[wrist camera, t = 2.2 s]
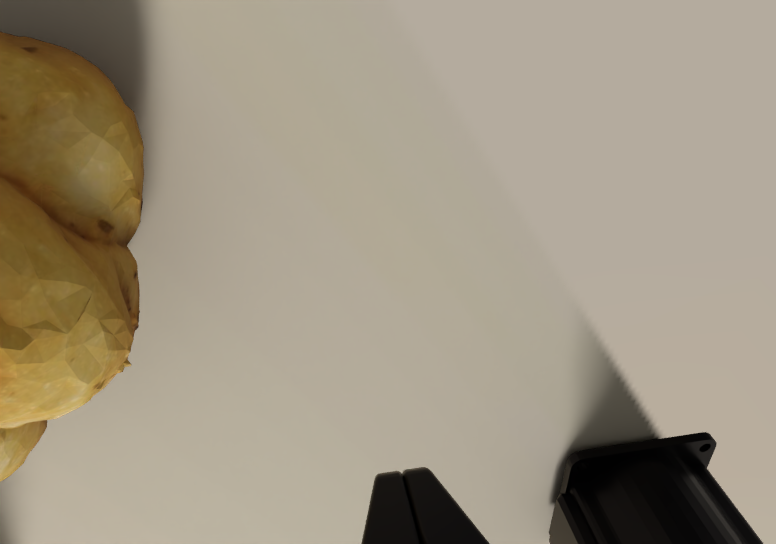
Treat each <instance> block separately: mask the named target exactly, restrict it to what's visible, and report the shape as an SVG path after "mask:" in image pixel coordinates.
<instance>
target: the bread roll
mask: <svg viewBox="0 0 776 544" xmlns="http://www.w3.org/2000/svg"><path fill="white" fill-rule="evenodd" d="M143 148H144V147H143V142H142V138H141V135H140V132H139V128H138V125H137V122H136V118H135V115H134V112H133V111H132V110H131V109H130V108H129V107H127V106H126V105H125V104H124V102H123V100H122V98H121V96H120V95H119V93H118V91H117V89H116V88H115V86H114V85H113V83H112V82H111V80H110V79H109V78H108V77H107V76H106V75H105V74H104V73H103V72H102V71H101V70H100V69H99V68H98V67H96V66H95V65H93V64H92V63H90V62H89V61H87V60H86V59H84V58H83V57H81V56H79V55H78V54H76V53H74V52H72V51H70V50H69V49H66V48H63V47H60V46H57V45H54V44H50V43H47V42H43V41H40V40H36V39H33V38H29V37H26V36H23V37H18V36H14V35H11V34H7V33H3V32H0V481H2V480H4V479H5V478H7V477H9V476H10V475H11V474H12V473H13V472H14V471H16V470H17V469H18V468H19V467H20V466H21V465H22V464H23V463H24V461H25V459H26V457H27V455H28V454H29V452H30V451H31V450H32V449H33V448H34V446H35V445H36V444H37V442H38V441H39V440H40V438H41V436H42V435H43V433H44V431H45V429H46V427H47V420H50V419H57V418H59V417H61V416H63V415H65V414H67V413H69V412H71V411H73V410H75V409H77V408H79V407H80V406H82V405H84V404H85V403H87V402H88V401H89V400H90V399H91V398H92V396H94V395H95V394H96V393H98V392H99V391H101V390H102V389H103V388H105V387H106V385H107V384H108V383H109V382H110V381H111V380H112V379H113V377H114V376H115V375H116V374H117V373H120V372H123V369H124V367H127V366H131V364H130V362H129V361H128V360H127V358H128V355H129V353H130V350H131V345H132V342H133V336H134V331H135V330H136V329H137V328H138V321H139V312H140V311H139V282H138V273H137V263H136V260H135V259H134V257H133V255H132V254H131V252H130V250H129V249H128V247H127V245H128V243H129V242H130V240H131V239H132V237H133V235H134V234H135V232H136V230H137V228H138V226H139V223H140V217H141V210H142V203H143V201H142V190H143V177H144V168H143Z"/></svg>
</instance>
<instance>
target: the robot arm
mask: <svg viewBox="0 0 776 544" xmlns="http://www.w3.org/2000/svg"><path fill="white" fill-rule="evenodd" d="M715 447H716V442H715V440H714V439H713V438H712V437H711V435H710V434H709V433H706V432H705V433H696V434H689V435H683V436H677V437H670V438H663V439H656V440H650V441H643V442H636V443H630V444H623V445H617V446H610V447H603V448H597V449H590V450H584V451H578V452H575V453H573V454H572V455H571V456H570V457H569V458H568V459H567V462H566V467H565V471H564V476H563V480H562V485H561V489H560V494H559V496H558V498H557V500H556V504H555V508H554V513H553V517H552V522H551V526H550V531H549V534H550V539H549V542H550V544H763V542H762V541H761V540H760V538H759V537H758V536H757V534H756V533H755V532H754V530H753V529H752V528H751V527H750V525H749V524H748V523H747V521H746V520H745V519H744V517H743V516H742V515H741V513H740V512H739V511H738V509H737V508H736V507H735V506H734V504H733V503H732V501H731V500H730V499H729V498H728V496H727V495H726V493H725V492H724V491H723V489H722V488H721V487H720V486H719V484H718V483H717V481H716V480H715V479H714V477H713V476H712V475H711V473H710V472H709V471H708V470H707V466H708V464H709V461H710V459H711V457H712V454H713V452H714V450H715ZM362 544H489V542H488V541H487V540H486V539H485V537H484V536H483V535H482V534H481V532H480V531H479V530H478V529H477V528H476V526H475V525H474V524H473V523H472V521H471V520H470V519H469V518H468V516H467V515H466V514H465V513H464V511H463V510H462V509H461V508H460V506H459V505H458V504H457V503H456V501H455V500H454V499H453V498H452V496H451V495H450V494H449V493H448V491H447V490H446V489H445V488H444V487H443V485H442V484H441V483H440V482H439V480H438V479H437V478H436V477H435V475H434V474H433V473H432V472H431V471H430V470H429V469H428V468H426V467H421V468H414V469H407V470H404V471H403V473H402V474H401V472H399V471H393V472H387V473H380V474H378V475H377V476H376V477H375V481H374V486H373V490H372V495H371V500H370V505H369V510H368V515H367V520H366V525H365V529H364V534H363V539H362Z"/></svg>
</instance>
